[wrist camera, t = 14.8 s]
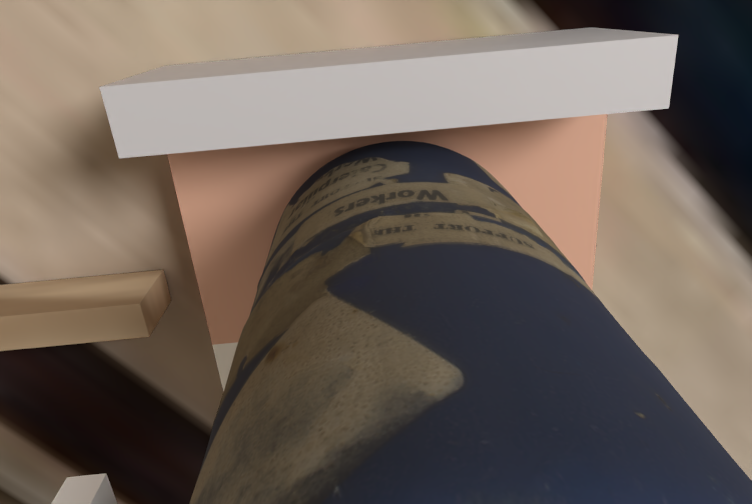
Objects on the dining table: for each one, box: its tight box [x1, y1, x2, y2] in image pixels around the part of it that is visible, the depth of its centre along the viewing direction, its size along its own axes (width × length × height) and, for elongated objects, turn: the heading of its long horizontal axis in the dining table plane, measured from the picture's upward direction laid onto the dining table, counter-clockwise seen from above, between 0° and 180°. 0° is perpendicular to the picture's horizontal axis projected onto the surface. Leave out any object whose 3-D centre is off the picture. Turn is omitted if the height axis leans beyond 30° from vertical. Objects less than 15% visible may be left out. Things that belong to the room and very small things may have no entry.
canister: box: [189, 141, 752, 504], centre depth 14 cm, size 10×10×18 cm
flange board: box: [100, 27, 678, 392], centre depth 23 cm, size 22×16×6 cm
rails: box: [0, 270, 171, 351], centre depth 26 cm, size 16×12×3 cm
